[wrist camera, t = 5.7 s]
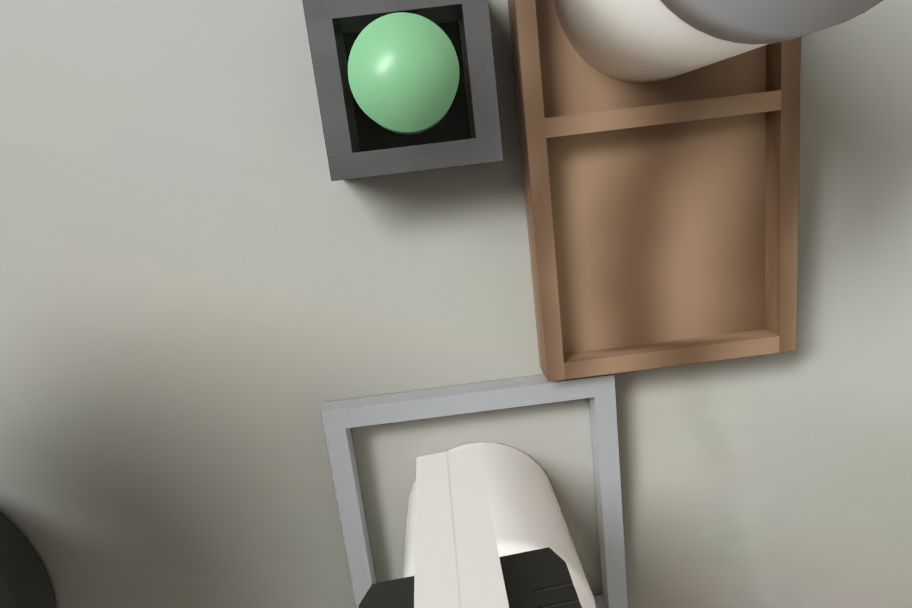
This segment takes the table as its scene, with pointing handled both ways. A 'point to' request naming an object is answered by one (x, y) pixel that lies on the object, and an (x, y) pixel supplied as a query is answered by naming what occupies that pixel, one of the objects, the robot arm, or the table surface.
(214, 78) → the table surface
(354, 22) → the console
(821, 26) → the seated part
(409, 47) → the button
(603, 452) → the tray
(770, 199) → the brown divided tray
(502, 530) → the pill bottle
